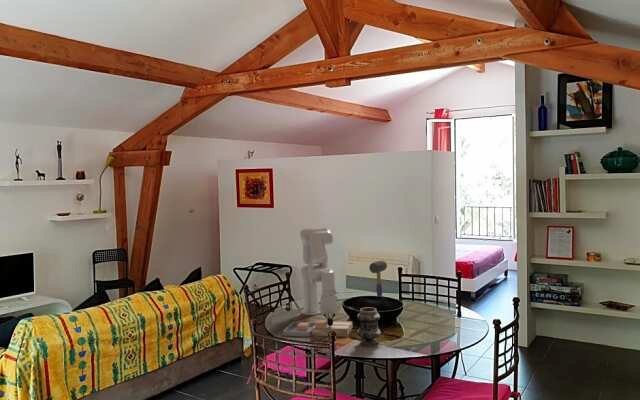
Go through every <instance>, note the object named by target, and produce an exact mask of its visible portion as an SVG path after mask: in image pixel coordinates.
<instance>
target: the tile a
mask: <svg viewBox="0 0 640 400" xmlns="http://www.w3.org/2000/svg"><path fill="white" fill-rule="evenodd" d="M309 328H310V323H299V324H298V325H297V331H308V329H309Z"/></svg>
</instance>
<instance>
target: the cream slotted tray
mask: <svg viewBox="0 0 640 400" xmlns="http://www.w3.org/2000/svg"><path fill="white" fill-rule="evenodd" d="M353 325H354V324H353V321H346V320H345V321H339V320H337V321H334V320H333V324H332V326H327V327H326V328H315V326H314V327H313V328H312V335H311V336H312V337H313V336H314V337H315V336H316V337H318V336H319V337H329V336H328V333H329V332H330V331H335V332H336V335H337V336H336V337H348V336H349V335H350V333H351V332H350V331H352V330H353V329H352V328H354V327H353ZM351 329H352V330H351ZM349 332H350V333H349ZM348 334H349V335H348Z"/></svg>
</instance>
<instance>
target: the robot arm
mask: <svg viewBox="0 0 640 400" xmlns="http://www.w3.org/2000/svg"><path fill="white" fill-rule="evenodd" d="M299 235H300V236H299V237H300V240H301V242H302V260H303V263H304V264H305V265H303V266H301V268H300V276H301V282H302V293H303V295H302V297H303V309H302V311H301V314H302V315H303V316H314V315H315V316H316V315H319V314H320V316H324V318H326V319H325V320H327V324H328V326H332V324H333V321H334V318H335V317H336V316H337V317H338V316H339V315H340V306H339V305H340V304H339V297H338V295H337V294H338V293H339V291H338V290H336V283H335V271H334V270H333V269H332V268H329V267H328V259H329V257H328V252H327V250H326V245H327V246H328V245H332V244H333V241H334V237H333V234H332V231H331V230H330V229H329V228H327V227H325V226H324V227H310V228H309V227H308V228H302V229H300V233H299ZM317 283H321V295H320V298H319V294H318V284H317ZM319 299H320V301H319ZM319 303H320V304H319Z"/></svg>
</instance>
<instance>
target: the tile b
mask: <svg viewBox="0 0 640 400" xmlns="http://www.w3.org/2000/svg"><path fill="white" fill-rule="evenodd" d="M327 326H328V324H327V319H317V320H316V321H315V328H326V327H327Z"/></svg>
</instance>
